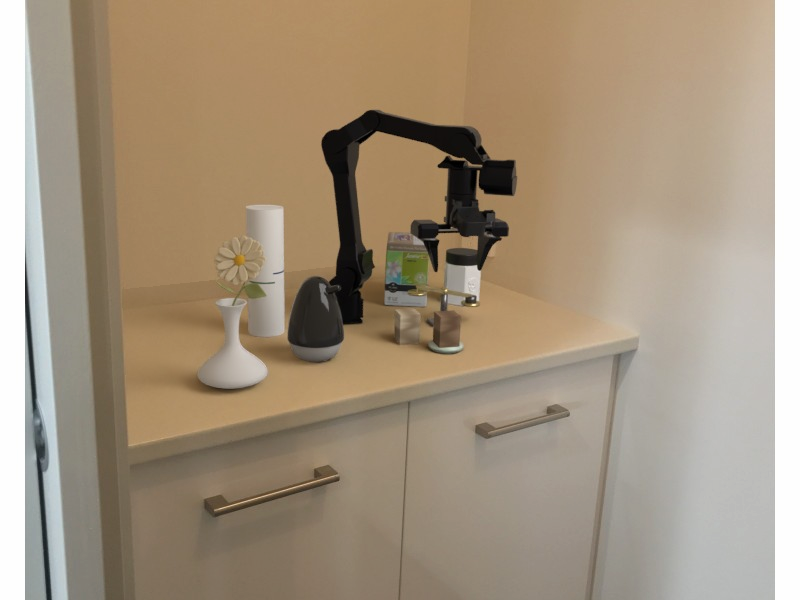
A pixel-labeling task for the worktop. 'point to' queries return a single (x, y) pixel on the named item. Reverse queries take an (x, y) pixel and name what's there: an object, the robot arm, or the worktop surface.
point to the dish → (445, 350)
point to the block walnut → (446, 329)
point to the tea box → (405, 269)
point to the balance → (444, 297)
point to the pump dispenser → (316, 321)
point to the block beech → (407, 326)
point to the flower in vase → (235, 317)
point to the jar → (461, 274)
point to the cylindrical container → (267, 270)
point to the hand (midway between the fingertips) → (457, 271)
